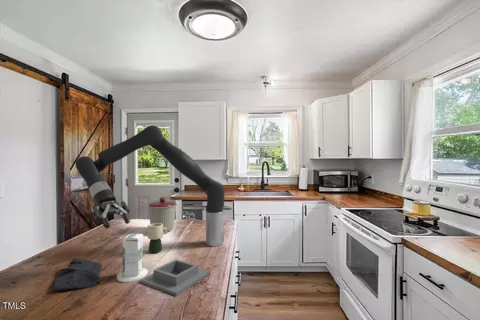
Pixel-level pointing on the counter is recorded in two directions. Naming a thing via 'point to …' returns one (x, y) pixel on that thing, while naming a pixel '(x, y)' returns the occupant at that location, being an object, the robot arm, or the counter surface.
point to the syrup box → (132, 255)
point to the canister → (162, 213)
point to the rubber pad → (132, 278)
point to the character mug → (155, 236)
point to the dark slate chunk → (78, 275)
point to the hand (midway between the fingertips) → (118, 224)
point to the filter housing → (175, 277)
